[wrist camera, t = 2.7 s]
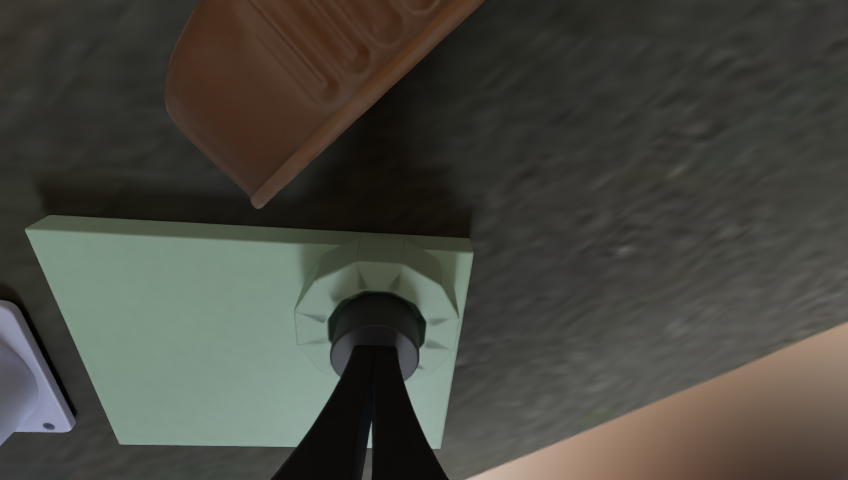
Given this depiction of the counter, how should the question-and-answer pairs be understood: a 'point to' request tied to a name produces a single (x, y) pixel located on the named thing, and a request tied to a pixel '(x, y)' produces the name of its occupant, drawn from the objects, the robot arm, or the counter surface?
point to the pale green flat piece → (240, 321)
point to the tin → (292, 76)
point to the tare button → (376, 330)
